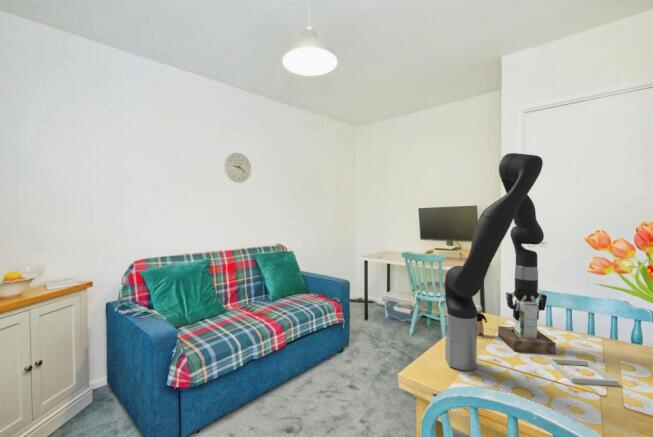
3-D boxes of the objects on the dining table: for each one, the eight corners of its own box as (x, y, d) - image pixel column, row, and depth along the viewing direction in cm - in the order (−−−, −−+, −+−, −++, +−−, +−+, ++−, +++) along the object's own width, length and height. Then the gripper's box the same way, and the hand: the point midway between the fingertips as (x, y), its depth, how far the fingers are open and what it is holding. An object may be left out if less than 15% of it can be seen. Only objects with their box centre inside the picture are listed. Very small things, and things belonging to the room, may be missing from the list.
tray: (571, 382, 91) (571, 378, 91) (547, 362, 103) (547, 357, 103) (617, 386, 89) (617, 381, 89) (587, 364, 101) (587, 360, 101)
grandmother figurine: (481, 331, 129) (481, 302, 129) (488, 335, 125) (488, 305, 125) (467, 334, 127) (467, 304, 126) (474, 337, 123) (474, 307, 123)
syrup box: (513, 333, 120) (514, 297, 119) (529, 334, 119) (530, 297, 118) (521, 339, 114) (521, 301, 114) (537, 340, 113) (538, 302, 113)
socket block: (514, 351, 111) (514, 340, 111) (498, 335, 125) (498, 326, 125) (555, 353, 109) (555, 343, 109) (534, 337, 123) (534, 328, 123)
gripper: (510, 279, 113) (510, 322, 114) (552, 280, 111) (551, 324, 111) (502, 274, 121) (501, 315, 121) (541, 275, 118) (540, 317, 119)
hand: (525, 319), depth 116 cm, fingers closed on syrup box, 6 cm apart
